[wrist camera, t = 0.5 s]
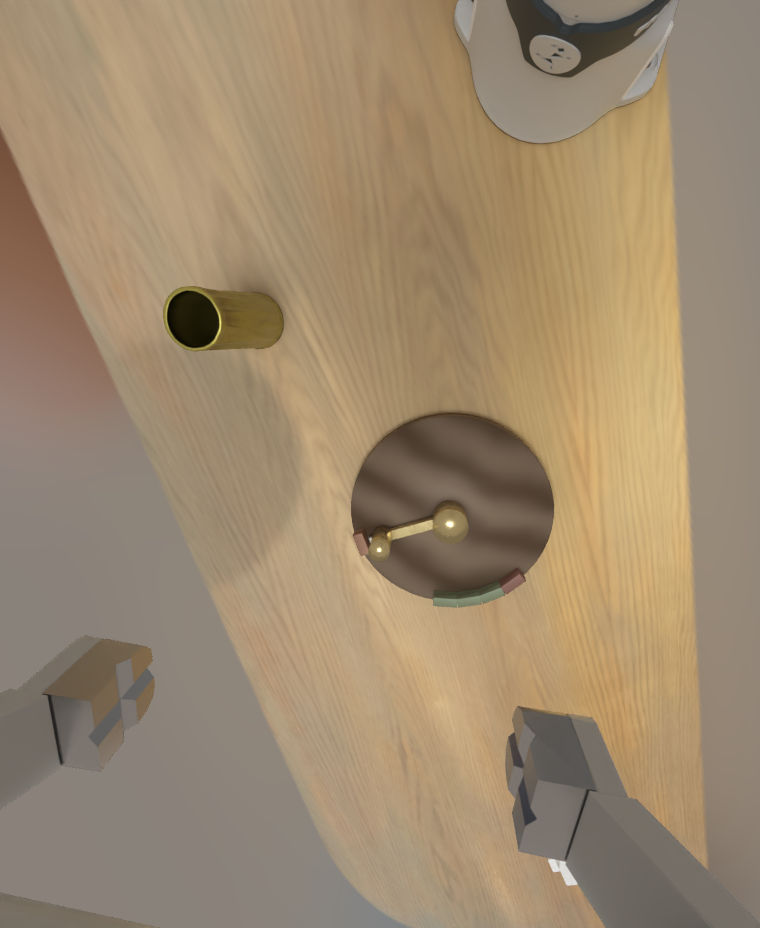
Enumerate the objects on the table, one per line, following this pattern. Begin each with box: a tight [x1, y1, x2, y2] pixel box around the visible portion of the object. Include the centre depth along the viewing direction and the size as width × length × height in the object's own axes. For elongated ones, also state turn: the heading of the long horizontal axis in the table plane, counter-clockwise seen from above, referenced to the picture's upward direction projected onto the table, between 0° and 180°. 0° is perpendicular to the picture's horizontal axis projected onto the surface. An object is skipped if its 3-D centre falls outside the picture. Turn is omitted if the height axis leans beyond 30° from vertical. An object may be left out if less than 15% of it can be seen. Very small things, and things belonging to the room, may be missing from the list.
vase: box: [163, 286, 283, 351], centre depth 43 cm, size 6×6×14 cm
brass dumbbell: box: [368, 501, 468, 562], centre depth 50 cm, size 12×4×4 cm, turn 110°
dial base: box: [351, 414, 554, 608], centre depth 52 cm, size 24×24×4 cm
